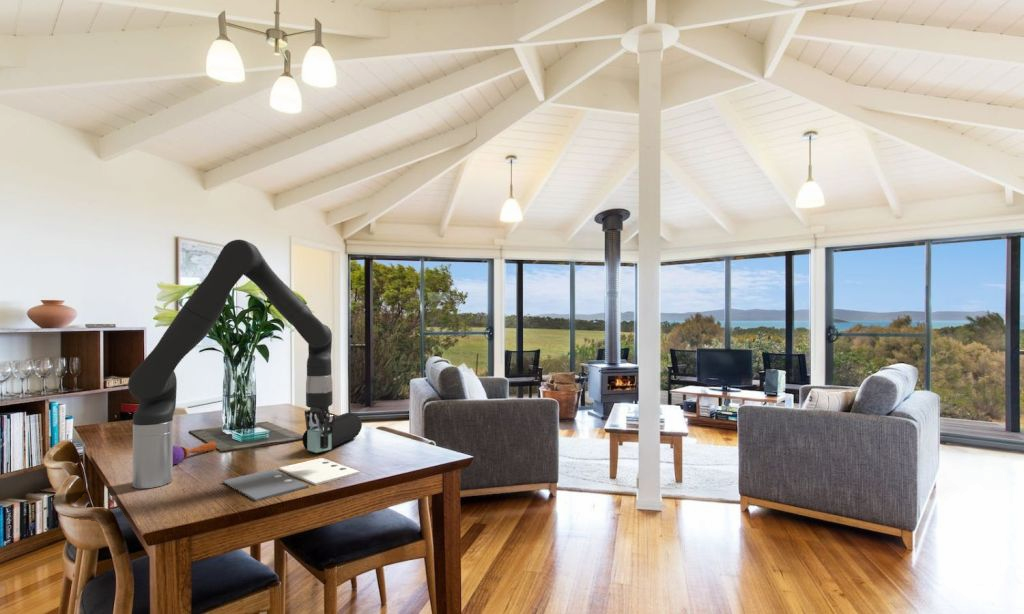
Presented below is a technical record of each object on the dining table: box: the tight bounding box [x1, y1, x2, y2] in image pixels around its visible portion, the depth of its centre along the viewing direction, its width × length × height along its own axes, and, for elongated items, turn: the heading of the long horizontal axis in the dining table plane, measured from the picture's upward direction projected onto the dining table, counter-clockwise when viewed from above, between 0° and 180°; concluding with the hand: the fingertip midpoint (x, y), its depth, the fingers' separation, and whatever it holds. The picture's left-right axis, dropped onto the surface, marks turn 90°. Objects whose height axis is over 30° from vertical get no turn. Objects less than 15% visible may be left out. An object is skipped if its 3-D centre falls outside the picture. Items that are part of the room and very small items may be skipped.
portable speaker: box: [301, 412, 363, 454], centre depth 186 cm, size 26×10×10 cm, turn 168°
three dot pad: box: [278, 457, 361, 486], centre depth 155 cm, size 22×14×1 cm, turn 49°
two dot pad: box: [221, 468, 310, 502], centre depth 143 cm, size 22×14×1 cm, turn 49°
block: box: [306, 428, 333, 454], centre depth 155 cm, size 5×5×6 cm
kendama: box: [173, 441, 217, 466], centre depth 169 cm, size 6×6×20 cm
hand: (319, 446), depth 155 cm, fingers closed on block, 5 cm apart
